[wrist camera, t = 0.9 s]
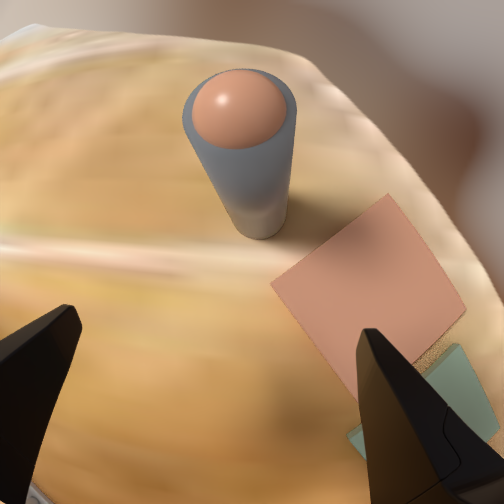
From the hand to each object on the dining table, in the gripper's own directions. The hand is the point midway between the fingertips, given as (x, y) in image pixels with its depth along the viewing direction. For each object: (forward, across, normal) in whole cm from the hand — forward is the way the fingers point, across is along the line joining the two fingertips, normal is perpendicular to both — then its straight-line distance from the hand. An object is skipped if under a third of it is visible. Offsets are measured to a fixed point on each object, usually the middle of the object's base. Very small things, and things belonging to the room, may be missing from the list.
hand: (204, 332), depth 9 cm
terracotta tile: (+11, -9, +7) cm, 16 cm away
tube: (+15, 0, +2) cm, 15 cm away
